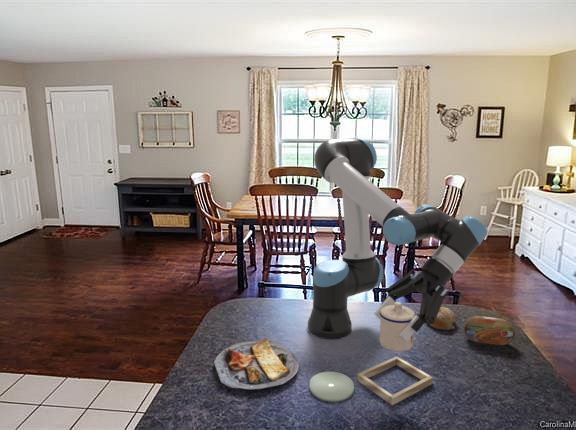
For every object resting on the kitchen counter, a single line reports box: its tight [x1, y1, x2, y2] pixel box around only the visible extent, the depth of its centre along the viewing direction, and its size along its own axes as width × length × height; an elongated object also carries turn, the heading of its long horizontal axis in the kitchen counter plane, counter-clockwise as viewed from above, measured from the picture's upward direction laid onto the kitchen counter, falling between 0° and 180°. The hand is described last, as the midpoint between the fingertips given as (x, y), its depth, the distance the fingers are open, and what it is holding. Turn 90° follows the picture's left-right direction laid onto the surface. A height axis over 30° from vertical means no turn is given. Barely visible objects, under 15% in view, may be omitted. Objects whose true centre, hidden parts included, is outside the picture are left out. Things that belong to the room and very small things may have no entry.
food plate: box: [213, 338, 300, 390], centre depth 127 cm, size 25×23×4 cm
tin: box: [463, 315, 516, 346], centre depth 141 cm, size 15×3×8 cm, turn 73°
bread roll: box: [426, 306, 457, 331], centre depth 154 cm, size 10×10×8 cm
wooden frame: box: [356, 355, 434, 406], centre depth 120 cm, size 13×16×2 cm
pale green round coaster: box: [309, 371, 355, 403], centre depth 118 cm, size 12×12×1 cm
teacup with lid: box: [379, 301, 416, 352], centre depth 116 cm, size 12×9×12 cm
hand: (389, 326), depth 116 cm, fingers closed on teacup with lid, 12 cm apart
